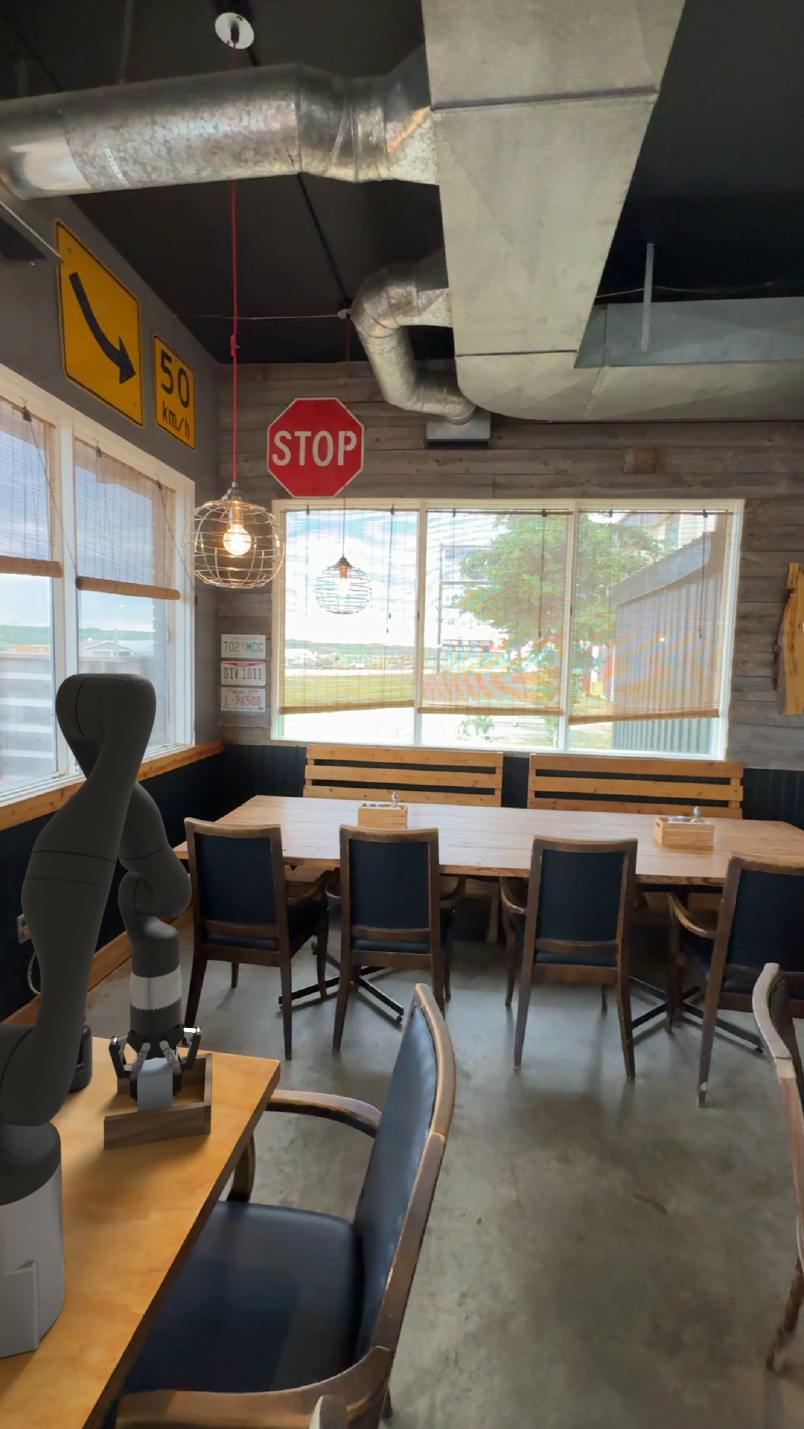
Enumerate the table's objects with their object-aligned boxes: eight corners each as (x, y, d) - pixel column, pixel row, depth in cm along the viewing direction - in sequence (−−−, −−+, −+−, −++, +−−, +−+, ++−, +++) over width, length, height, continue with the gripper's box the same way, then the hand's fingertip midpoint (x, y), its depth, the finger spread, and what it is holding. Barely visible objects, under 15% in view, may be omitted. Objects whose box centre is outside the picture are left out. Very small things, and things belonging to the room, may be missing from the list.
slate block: (171, 1109, 101) (171, 1073, 101) (137, 1114, 100) (137, 1078, 99) (174, 1088, 106) (174, 1053, 105) (141, 1092, 105) (141, 1057, 104)
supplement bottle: (70, 1100, 105) (68, 1030, 104) (37, 1089, 107) (35, 1021, 106) (102, 1074, 112) (101, 1008, 110) (71, 1064, 114) (69, 1000, 112)
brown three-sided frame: (210, 1132, 99) (210, 1105, 99) (104, 1149, 95) (103, 1121, 95) (212, 1077, 112) (212, 1052, 111) (118, 1090, 108) (117, 1065, 107)
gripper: (101, 1012, 96) (103, 1119, 97) (203, 1002, 99) (203, 1105, 101) (110, 986, 103) (111, 1086, 105) (204, 977, 107) (204, 1074, 108)
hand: (156, 1095), depth 103 cm, fingers closed on slate block, 5 cm apart
